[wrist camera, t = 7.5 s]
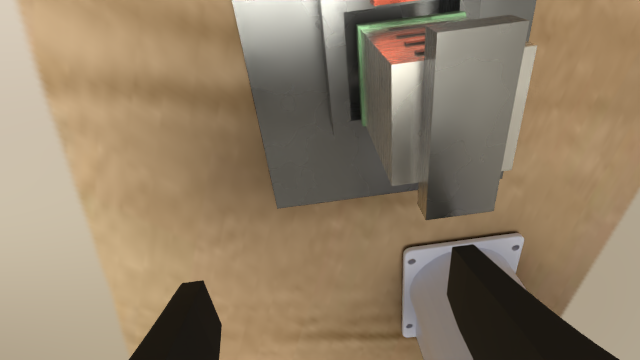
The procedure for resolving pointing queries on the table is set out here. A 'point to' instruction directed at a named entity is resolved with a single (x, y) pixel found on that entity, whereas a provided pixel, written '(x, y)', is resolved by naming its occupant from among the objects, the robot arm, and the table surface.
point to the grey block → (445, 103)
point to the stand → (326, 89)
